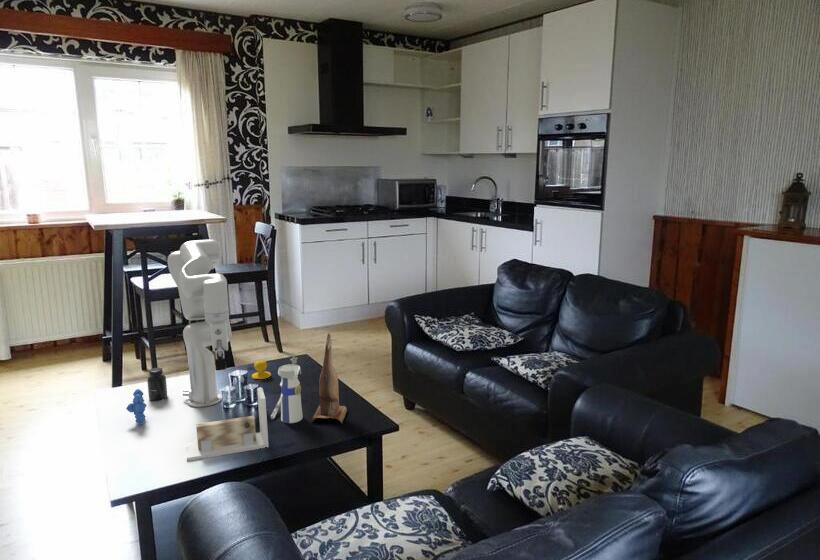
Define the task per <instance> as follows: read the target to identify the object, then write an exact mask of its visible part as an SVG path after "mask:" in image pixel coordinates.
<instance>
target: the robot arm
mask: <svg viewBox="0 0 820 560" xmlns="http://www.w3.org/2000/svg"><path fill="white" fill-rule="evenodd" d="M222 255H223V254H222V248H221V245H220V243H219V242H218V241H217V240H215V239H212V238H211V239H210V238H209V239H197V240H195V239H194V240H189V241H186V242H184V243H182V244H181V245H180V248H179V250H177V251H174V252H172V253H170V254H169V255H168V256H167V268H168V271H169V274H170V275H171V277H172V280H173V281H174V283H175V284H176V287H177V289H178V294H179V301H180V305H181V309H182V313H183V317H184V318H185V319H186V320H188V321H199V320H204V321H199V322H192V323H190V324H187V325H186V326H185V327H184V329H183V331H182V337H183V341H184V343H185V348H186V353H187V361H188V362H187V364H188V372H189V373H188V374H189V383H190V384H189V385H190V389H189V388H184V389H183V391H182V396H183V397H188V399H187V404H188V405H189V406H190V407H194V408H202V407H203V408H205V407H210V406H214V405H216V404H218V403H219V402H221V401H222V399H221V396H222V394H221V393H219V392H218V385H217V377H216V375H217V374H216V371H224V370H227V364H226V357H225V351H226V352H228V351H229V342H230V341H231V339H232V333H233V332H232V328H231V323H230V313H229V312H230V311H229V297H228V296H229V295H228V281H227V278H226V276H224V275H223V274H222V273H218V272H217V273H210V271H211V270H214V269H215V268H216V267H217V265H218V264H219V262H220V261H221V259H222ZM210 346H212V347H211V348H212V352H211V350H210V349H208V348H207V347H210ZM213 352H214V354H213Z"/></svg>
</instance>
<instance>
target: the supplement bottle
mask: <svg viewBox="0 0 820 560" xmlns="http://www.w3.org/2000/svg"><path fill="white" fill-rule="evenodd" d="M148 371H149V373H148V374H149V376H148V377H147V379H146V380H147V393H148V399H149V401H151V402H159V401H163V400H166V399H167V398H168V388H167V387H168V385H167V377H166V375H165V374H164V372H163V368H162V367H154V368H153V367H152V368H150V369H149V370H148Z"/></svg>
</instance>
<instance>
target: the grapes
mask: <svg viewBox="0 0 820 560" xmlns="http://www.w3.org/2000/svg"><path fill="white" fill-rule="evenodd" d="M132 395H133V399H132V403H131V402H130V403H128V405H127V406H126V408H125V409H126V410H127V412H129V413H133V415H134V418H135V420H134V421H135V422H136V423H137V424H138V425H143V424H144V423H145V421H146V414H145V413H144V412H145V411H146V408H147V404H146V403H145V399H144V397H143V396H144V392H143V391H142V390H141V389H139V388H137V389H135V390H134V392H133V393H132Z"/></svg>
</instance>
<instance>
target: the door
mask: <svg viewBox="0 0 820 560" xmlns="http://www.w3.org/2000/svg"><path fill="white" fill-rule="evenodd" d="M255 419H256V418H255V415H247V416H241V417H235V418H234V417H233V418H229V419H222V420H215V421H207V422H201V423H196V425H195V427H196V437H197V438H196V439H197V442H198V450H202V449H201V441H205V440H211V447H212V448H216V447H223V446H229V445H235V444H241V443H244V438H243V434H248V433H253V441H256V433H257V432H256V421H255Z"/></svg>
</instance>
